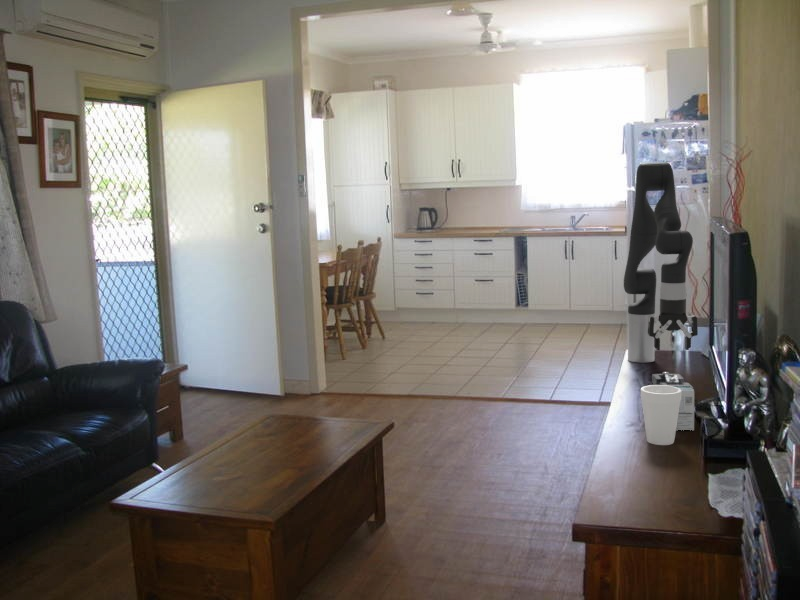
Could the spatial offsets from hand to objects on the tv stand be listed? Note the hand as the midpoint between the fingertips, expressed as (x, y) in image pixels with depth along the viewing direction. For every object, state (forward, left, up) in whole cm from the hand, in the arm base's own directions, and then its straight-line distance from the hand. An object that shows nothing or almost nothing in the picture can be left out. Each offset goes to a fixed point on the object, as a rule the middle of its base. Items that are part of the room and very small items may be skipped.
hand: (672, 349), depth 250 cm
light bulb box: (+40, -9, -13) cm, 43 cm away
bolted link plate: (0, 0, -13) cm, 13 cm away
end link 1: (-6, 0, -13) cm, 14 cm away
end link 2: (+6, 0, -13) cm, 14 cm away
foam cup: (+52, -14, -13) cm, 56 cm away
